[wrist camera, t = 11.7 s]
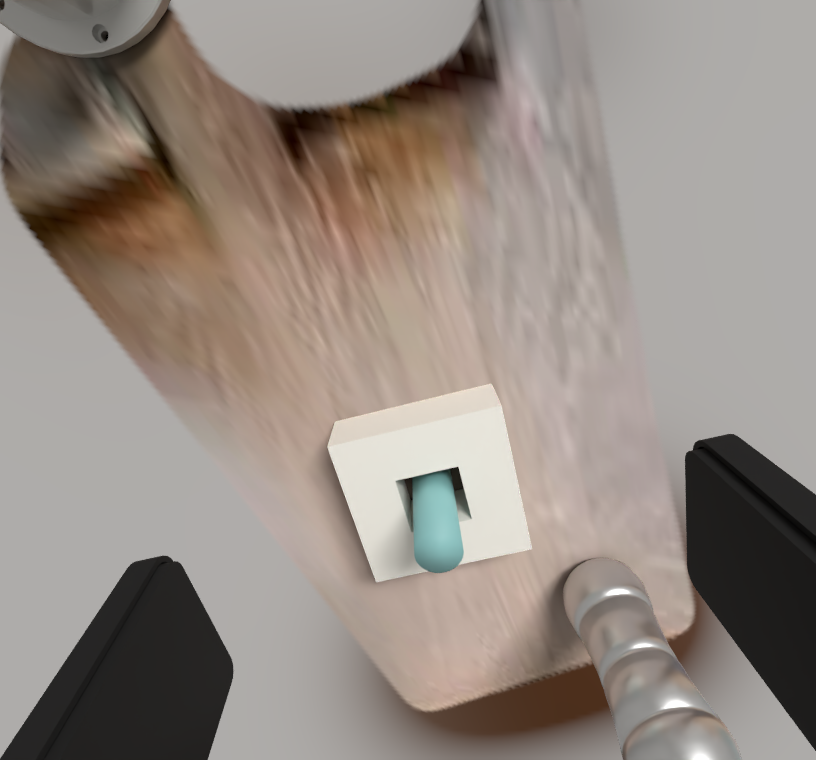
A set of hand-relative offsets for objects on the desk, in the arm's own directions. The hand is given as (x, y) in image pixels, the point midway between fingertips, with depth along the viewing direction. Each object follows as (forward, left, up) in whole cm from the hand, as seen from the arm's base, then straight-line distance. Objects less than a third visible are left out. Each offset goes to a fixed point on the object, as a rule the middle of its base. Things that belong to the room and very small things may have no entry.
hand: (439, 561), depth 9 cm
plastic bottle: (+28, +9, -27) cm, 40 cm away
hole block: (+14, -2, -27) cm, 30 cm away
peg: (+14, -2, -27) cm, 30 cm away
